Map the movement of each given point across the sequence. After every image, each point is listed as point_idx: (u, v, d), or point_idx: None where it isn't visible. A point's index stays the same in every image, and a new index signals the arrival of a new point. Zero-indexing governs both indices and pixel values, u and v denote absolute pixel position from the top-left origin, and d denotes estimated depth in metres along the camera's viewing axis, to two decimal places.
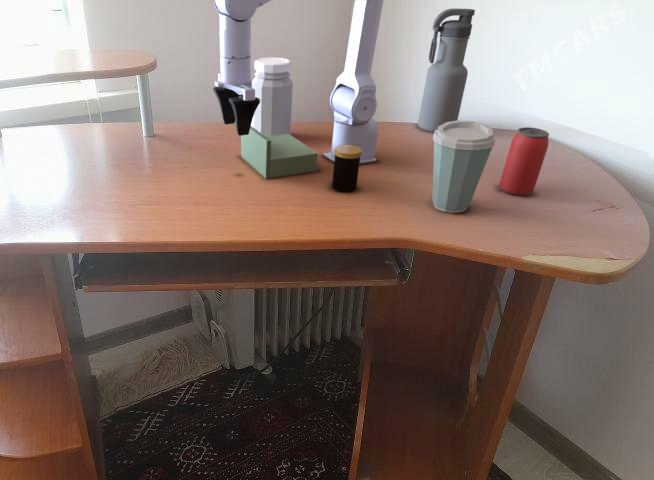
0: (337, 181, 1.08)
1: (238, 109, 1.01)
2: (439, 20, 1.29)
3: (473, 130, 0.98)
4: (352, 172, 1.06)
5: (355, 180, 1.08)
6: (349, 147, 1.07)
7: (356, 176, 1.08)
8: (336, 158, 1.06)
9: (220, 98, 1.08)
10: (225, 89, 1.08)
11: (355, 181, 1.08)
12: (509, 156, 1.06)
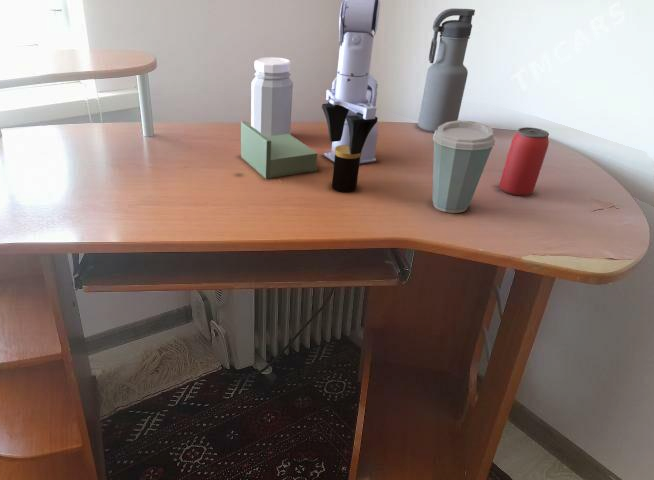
0: (337, 181, 1.08)
1: (356, 128, 0.98)
2: (439, 20, 1.29)
3: (473, 130, 0.98)
4: (352, 172, 1.06)
5: (355, 180, 1.08)
6: None
7: (356, 176, 1.08)
8: (336, 158, 1.06)
9: (329, 115, 1.05)
10: (335, 106, 1.05)
11: (355, 181, 1.08)
12: (509, 156, 1.06)
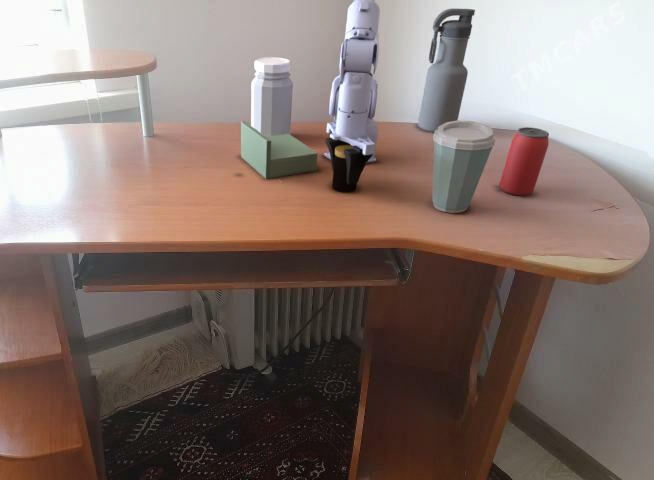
0: (337, 181, 1.08)
1: (353, 160, 1.02)
2: (439, 20, 1.29)
3: (473, 130, 0.98)
4: None
5: None
6: (349, 147, 1.07)
7: None
8: (336, 158, 1.06)
9: (332, 149, 1.08)
10: (338, 141, 1.07)
11: None
12: (509, 156, 1.06)
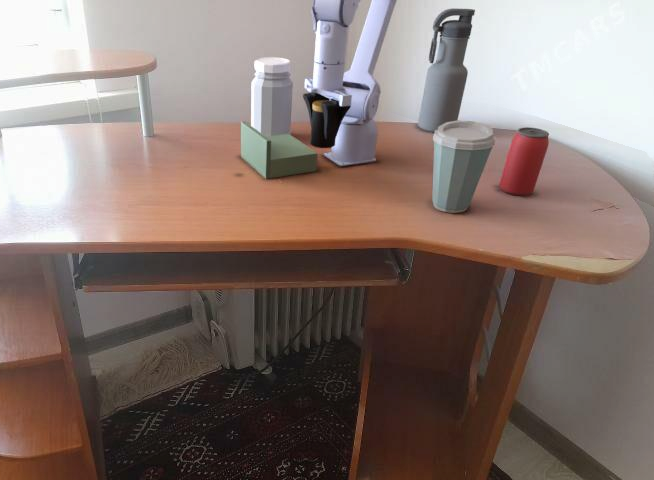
0: (315, 137, 1.08)
1: (330, 113, 1.02)
2: (439, 20, 1.29)
3: (473, 130, 0.98)
4: None
5: None
6: None
7: None
8: (314, 113, 1.06)
9: (310, 105, 1.08)
10: (316, 96, 1.07)
11: None
12: (509, 156, 1.06)
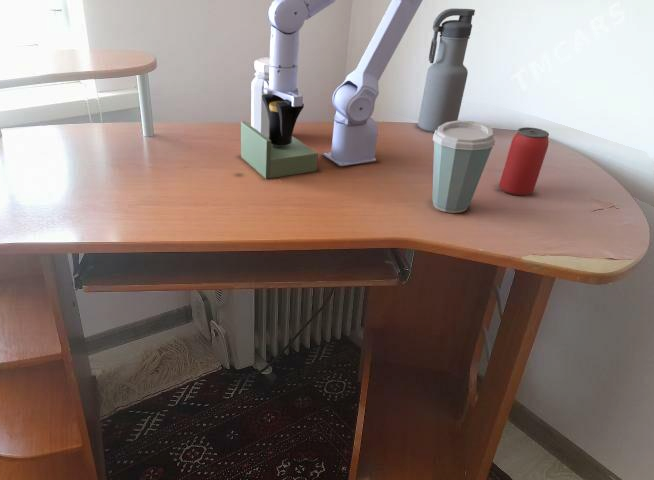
0: (272, 135, 1.16)
1: (284, 113, 1.10)
2: (439, 20, 1.29)
3: (473, 130, 0.98)
4: None
5: None
6: None
7: None
8: (270, 112, 1.14)
9: (268, 105, 1.16)
10: (273, 97, 1.15)
11: None
12: (509, 156, 1.06)
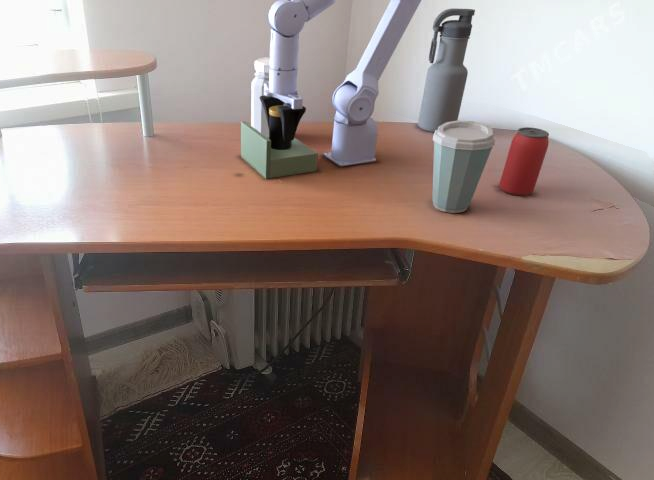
0: (272, 139, 1.16)
1: (286, 117, 1.10)
2: (439, 20, 1.29)
3: (473, 130, 0.98)
4: None
5: None
6: None
7: None
8: (270, 117, 1.14)
9: (266, 106, 1.17)
10: (271, 98, 1.16)
11: None
12: (509, 156, 1.06)
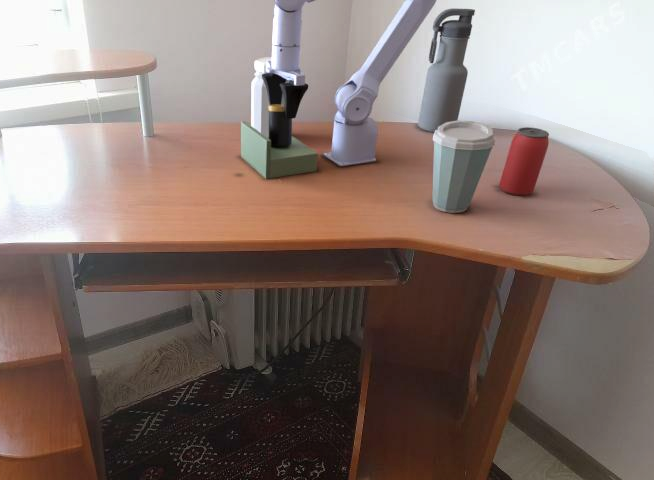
0: (272, 136, 1.16)
1: (288, 93, 1.09)
2: (439, 20, 1.29)
3: (473, 130, 0.98)
4: (284, 125, 1.15)
5: (288, 134, 1.16)
6: None
7: (289, 130, 1.16)
8: (269, 113, 1.15)
9: (268, 84, 1.17)
10: (273, 76, 1.16)
11: (289, 135, 1.16)
12: (509, 156, 1.06)
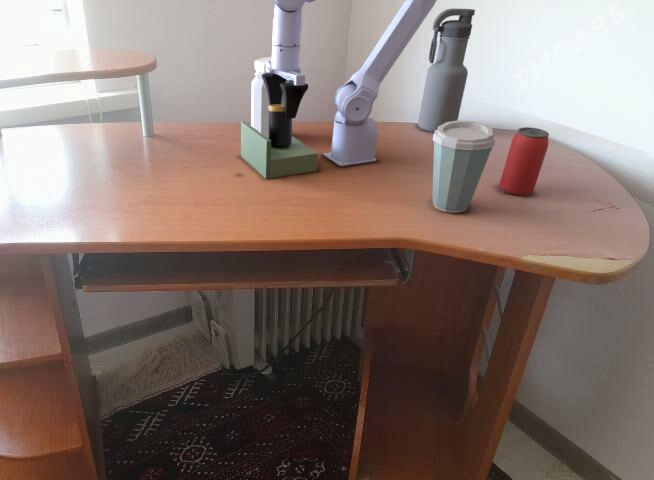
0: (272, 136, 1.16)
1: (288, 93, 1.09)
2: (439, 20, 1.29)
3: (473, 130, 0.98)
4: (284, 125, 1.15)
5: (288, 134, 1.16)
6: None
7: (289, 130, 1.16)
8: (269, 113, 1.15)
9: (268, 84, 1.17)
10: (273, 76, 1.16)
11: (289, 135, 1.16)
12: (509, 156, 1.06)
